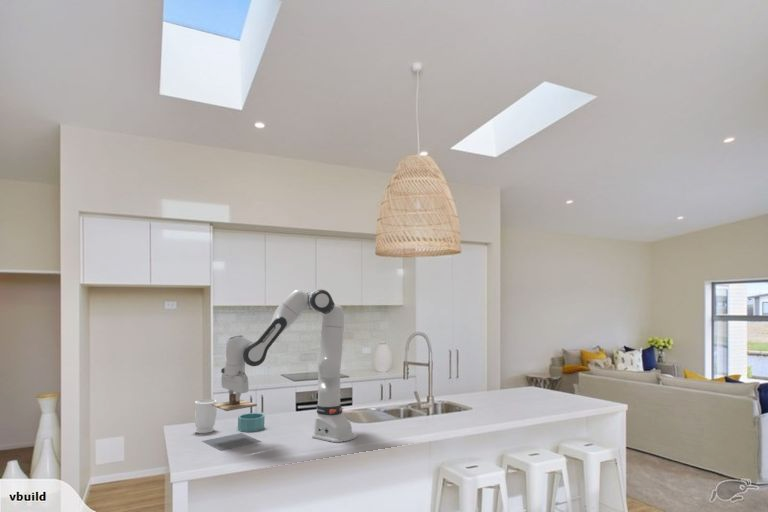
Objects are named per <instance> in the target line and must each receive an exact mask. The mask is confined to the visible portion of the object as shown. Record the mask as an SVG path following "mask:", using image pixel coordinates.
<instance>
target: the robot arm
mask: <svg viewBox="0 0 768 512" xmlns="http://www.w3.org/2000/svg"><path fill="white" fill-rule="evenodd" d="M307 309H310V310H312V311H314V312H320V314H321V316H322V321H321V324H322V325H321V331H320V344H319V352H318V353H319V354H318V361H317V369H318V373H317V374H318V379H317V380H318V381H317V382H318V383H317V405H316V414H317V415H316V417H315V420H314V430H313V434H312V435H311V436H312V439H316V440H321V441H325V442H326V441H327V442H330V441H331V443H343V441H344V442H347V441H351V440H354V439H356V438H357V437H358V435H357V434H356V433H354V432H352V431H353V430H352V424H351V422H350V421H349V420H348V419H347V418H346V416H345V415H344V413H343V410H344V407H342V404H341V367H342V354H343V353H342V352H343V342H344V341H343V340H344V329H345V313H344V308H343V307H342V306H341V305H339V304H336V303H334V299H333V298H332V296H331V294H330V293H329V292H328V291H327V290H325V289H314V290H312V291H309V292H305V291H303V290H301V289H295V290H293V291H291V293H289V294H288V295H287V296H286V297H285V298H284V299H283V300H282V301H281V302H280V304H279V305H278V306H277V308H276V309H275V310H274V313H273V315H272V319H271V322H270V324H269V326H268V328H266V330H265V331H264V332H263V333H262V334H261V336H259V338H258V340H256V341H254V340H251V339H249V338H247V337H245V335H235V336H232V337H229V338H228V339H227V342H226V348H225V357H226V362H225V366H224V367H222V368H221V369H220V373H221V381H220V382H221V387H222V388H223V389H225V390H227V391H228V395H229V394H236V397H235V401H239V400H241V399H240V398H241V395H242V394H245V393H248V391H249V377H248V376H247V374H246V365H248V366H250V367H258V366H260V365H261V364H263V363H264V361H265V360H266V357H267V353H268V351H269V349H270V347H271V346H272V345H273V344H274V343H275V341H276V340H277V339H278V338H279V336H280V335H281V334H282V333H283V332H284V331H285V330H286V329H288V328H290V326H291V325H292V324H294V323H295V322H296V321H297V319H298V318H299V317H300V316H301V315H302V313H303V312H304V311H305V310H307ZM234 392H235V393H234Z"/></svg>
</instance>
